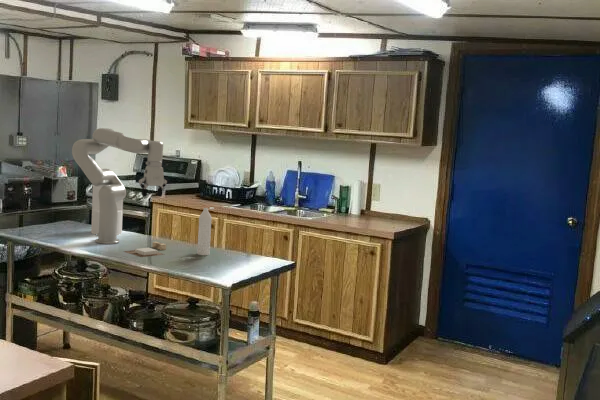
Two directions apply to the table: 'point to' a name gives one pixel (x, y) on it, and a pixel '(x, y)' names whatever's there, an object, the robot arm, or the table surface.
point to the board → (141, 255)
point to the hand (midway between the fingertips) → (151, 196)
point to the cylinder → (96, 209)
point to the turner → (159, 245)
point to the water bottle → (204, 232)
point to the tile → (146, 251)
